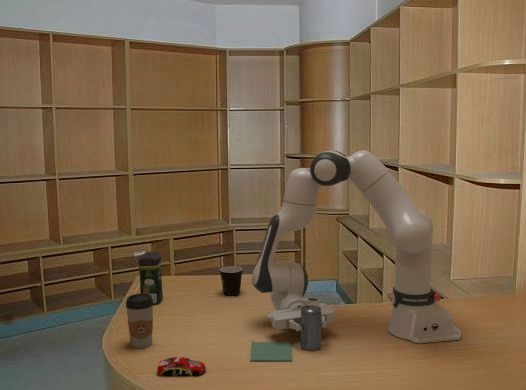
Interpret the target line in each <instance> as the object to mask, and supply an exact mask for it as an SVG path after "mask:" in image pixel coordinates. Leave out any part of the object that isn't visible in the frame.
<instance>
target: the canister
mask: <svg viewBox="0 0 526 390" xmlns="http://www.w3.org/2000/svg"><path fill="white" fill-rule="evenodd" d="M301 325H302V330H301V331H300V348H301V349H302V350H305V351H307V352H308V351H310V352H313V351H314V352H316V351H318V350H320V349H322V328H321V308H320V307H318V306H315V305H306V306H303V307H301Z"/></svg>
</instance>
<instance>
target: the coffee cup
mask: <svg viewBox="0 0 526 390" xmlns="http://www.w3.org/2000/svg"><path fill="white" fill-rule="evenodd" d="M154 305H155V304H154V303H153V299H152V296H151V295H149V294H140V293H134V294H132V295H129V296H128V297H127V299H126V300H125V308H126V314H127V316H126V317H127V326H128V335H129V340H130V345H131V347H133V348H135V349H143V348H144V349H145V348H147V347H150V346H151V345H152V342H153V331H154V329H153V327H154V326H153V325H154V317H153V315H154Z"/></svg>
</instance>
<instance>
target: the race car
mask: <svg viewBox="0 0 526 390" xmlns="http://www.w3.org/2000/svg"><path fill="white" fill-rule="evenodd" d="M156 369H157V372H156V374H158V375H159V376H164V377H179V376H180V377H184V376H185V377H186V376H187V377H189V376H191V377H199V376H201V375H203V374H204V373H205V372H206V369H207V367H206V364H205V363H204V362H203V361H200V360H193V359H190V358H189V357H185V356H184V357H183V356H173V357H169V358H166V359H162V360H160V361H159V362H158V366H157V368H156Z"/></svg>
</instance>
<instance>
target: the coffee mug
mask: <svg viewBox="0 0 526 390" xmlns="http://www.w3.org/2000/svg"><path fill="white" fill-rule="evenodd" d="M219 271H220V279H221V286H222V295H223V296H224V295H225V296H224V297H227V296H235V297H238V296H240V295H241V294H240V293H241V287H242V286H241V284H242V279H243V278H242V276H243V275H242V274H243V268H242V267H240V266H235V265H233V266H232V265H229V266H223V267H221V268H220V269H219ZM239 294H240V295H239ZM237 295H238V296H237Z"/></svg>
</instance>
